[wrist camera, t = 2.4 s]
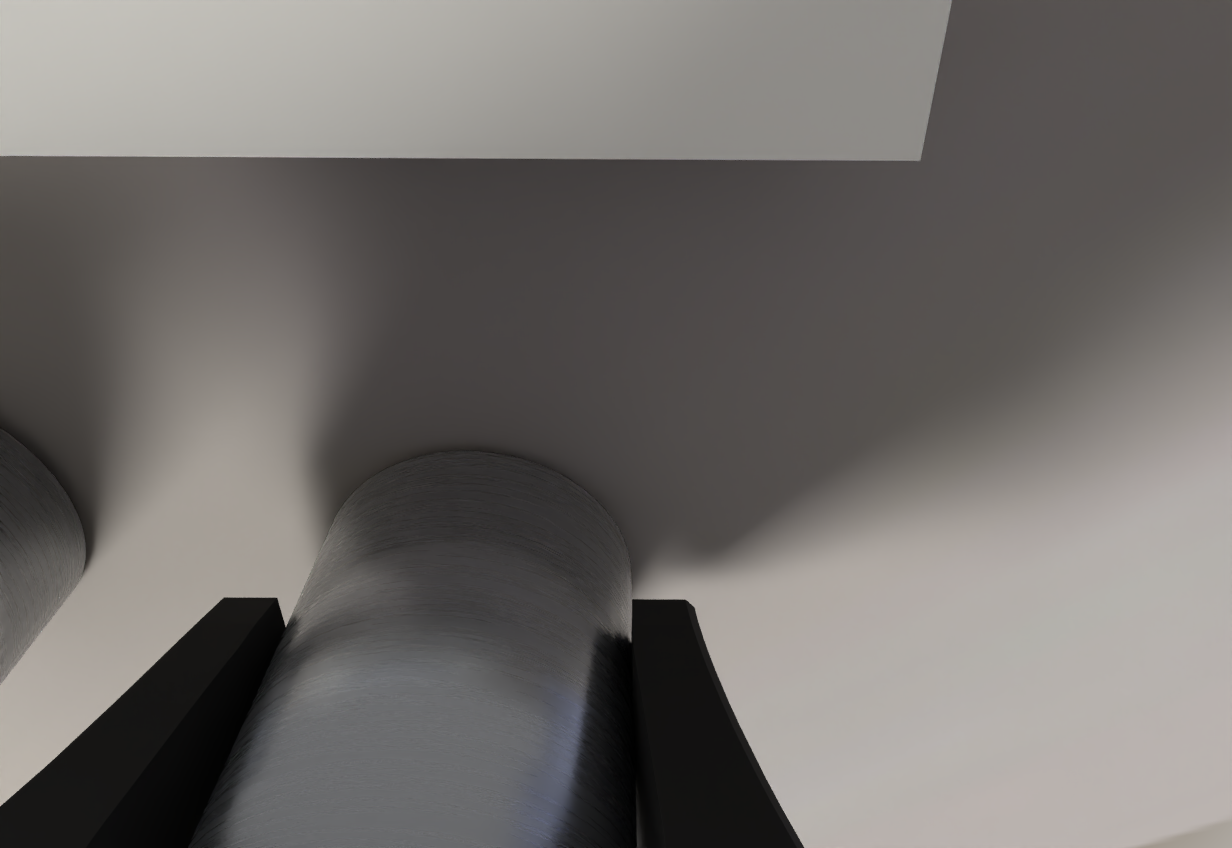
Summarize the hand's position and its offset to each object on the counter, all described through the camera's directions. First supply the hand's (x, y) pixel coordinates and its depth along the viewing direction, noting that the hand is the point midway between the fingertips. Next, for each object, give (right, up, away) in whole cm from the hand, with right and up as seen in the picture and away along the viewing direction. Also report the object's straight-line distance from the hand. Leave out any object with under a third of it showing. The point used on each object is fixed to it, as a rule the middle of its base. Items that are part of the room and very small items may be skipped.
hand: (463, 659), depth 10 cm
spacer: (0, +1, +1) cm, 1 cm away
